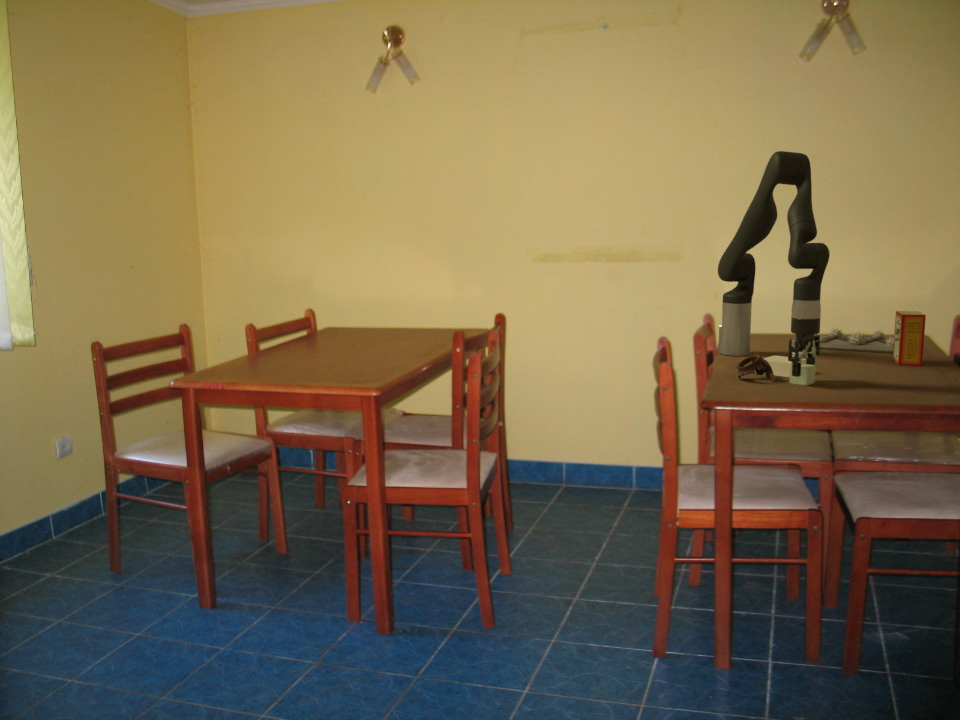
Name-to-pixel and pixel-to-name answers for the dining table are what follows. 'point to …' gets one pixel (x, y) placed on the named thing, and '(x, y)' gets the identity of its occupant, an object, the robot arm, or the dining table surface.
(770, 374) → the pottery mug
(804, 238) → the robot arm
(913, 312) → the baking soda box
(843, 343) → the decorative plate
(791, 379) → the cube
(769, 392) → the dining table surface
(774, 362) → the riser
